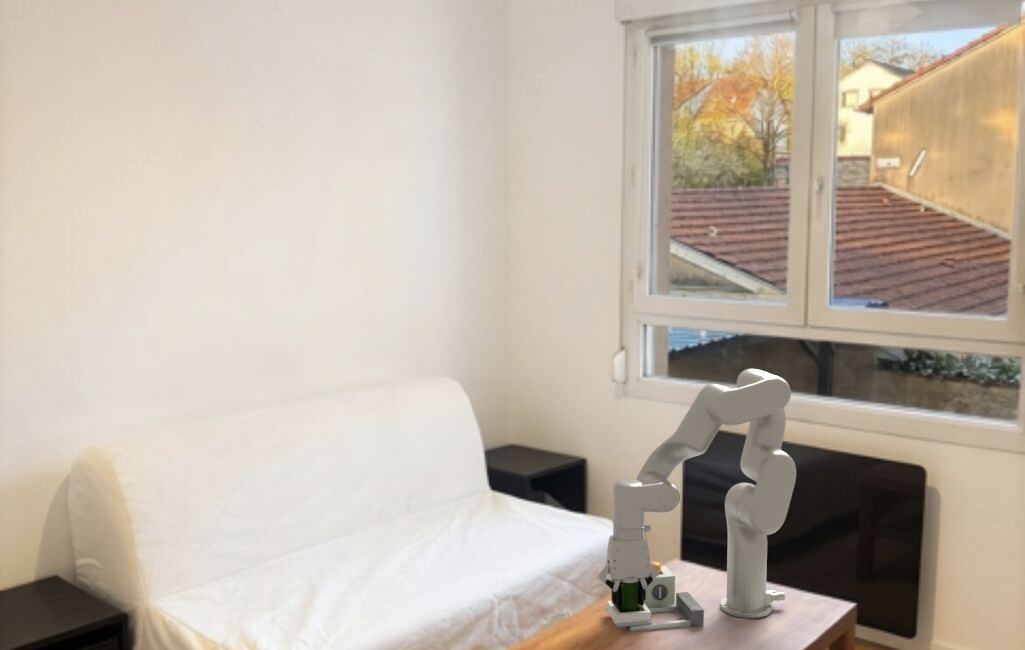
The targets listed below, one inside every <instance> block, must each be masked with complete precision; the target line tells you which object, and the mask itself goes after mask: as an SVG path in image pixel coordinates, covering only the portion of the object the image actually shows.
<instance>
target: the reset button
mask: <svg viewBox="0 0 1025 650" xmlns="http://www.w3.org/2000/svg"><path fill="white" fill-rule="evenodd" d="M650 562H651V564H652V565H653V566H654V567H655V568H656V569H657V571H658V572H659V575H661V566H662V563H661V562H659V561H650ZM650 573H651V572H650Z"/></svg>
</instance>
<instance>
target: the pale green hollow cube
mask: <svg viewBox="0 0 1025 650" xmlns="http://www.w3.org/2000/svg"><path fill="white" fill-rule="evenodd" d="M675 592H676V576H675V574H674V573H673V572H672V571H671V570H670V569H669V568H668V567H667V566H666V565H661V575H658V576H657V577H656V578H655V579H653V581H652V582H651V583H650V584H649V585H648V588H647V589H646V600H644V604H645V605H646V606H647V607H651V606H663V605H675V604H676V593H675Z"/></svg>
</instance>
